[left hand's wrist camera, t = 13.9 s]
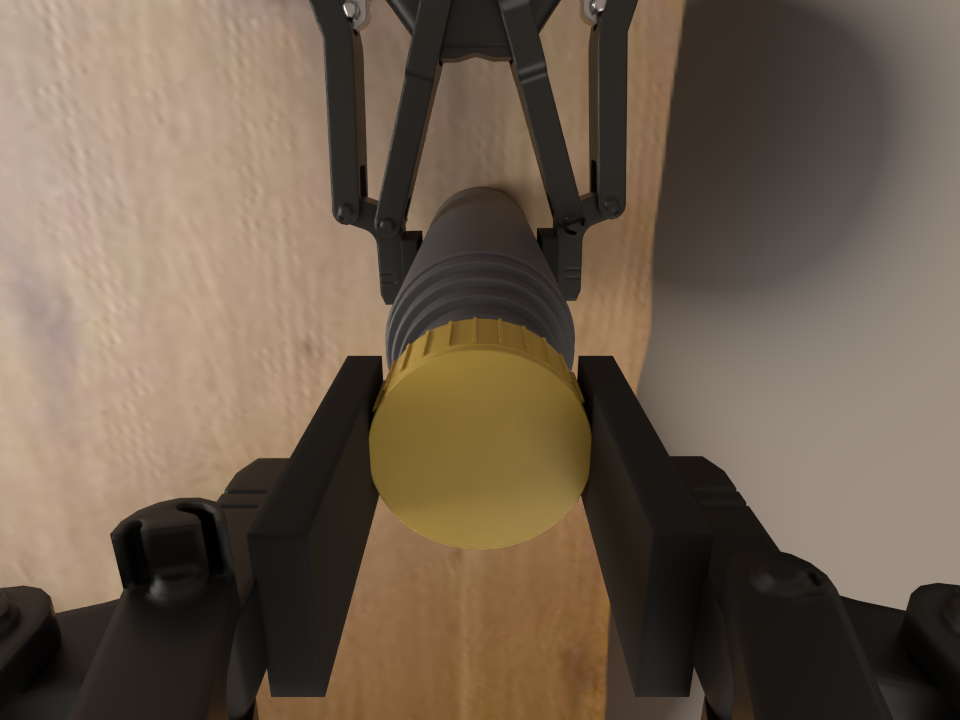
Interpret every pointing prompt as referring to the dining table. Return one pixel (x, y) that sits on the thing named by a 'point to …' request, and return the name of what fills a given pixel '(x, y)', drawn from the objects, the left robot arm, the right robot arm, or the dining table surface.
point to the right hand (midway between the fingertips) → (482, 362)
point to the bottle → (480, 276)
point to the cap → (480, 435)
